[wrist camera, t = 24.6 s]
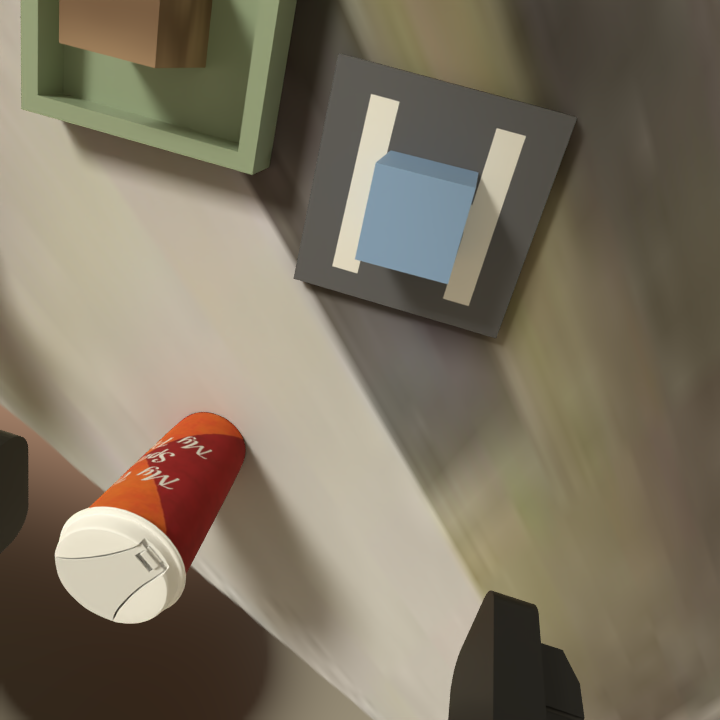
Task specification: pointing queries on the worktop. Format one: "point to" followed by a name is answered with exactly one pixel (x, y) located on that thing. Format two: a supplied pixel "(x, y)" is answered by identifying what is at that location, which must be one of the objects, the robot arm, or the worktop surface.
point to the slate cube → (416, 215)
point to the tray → (169, 85)
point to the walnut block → (139, 30)
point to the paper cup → (151, 522)
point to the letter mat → (440, 144)
